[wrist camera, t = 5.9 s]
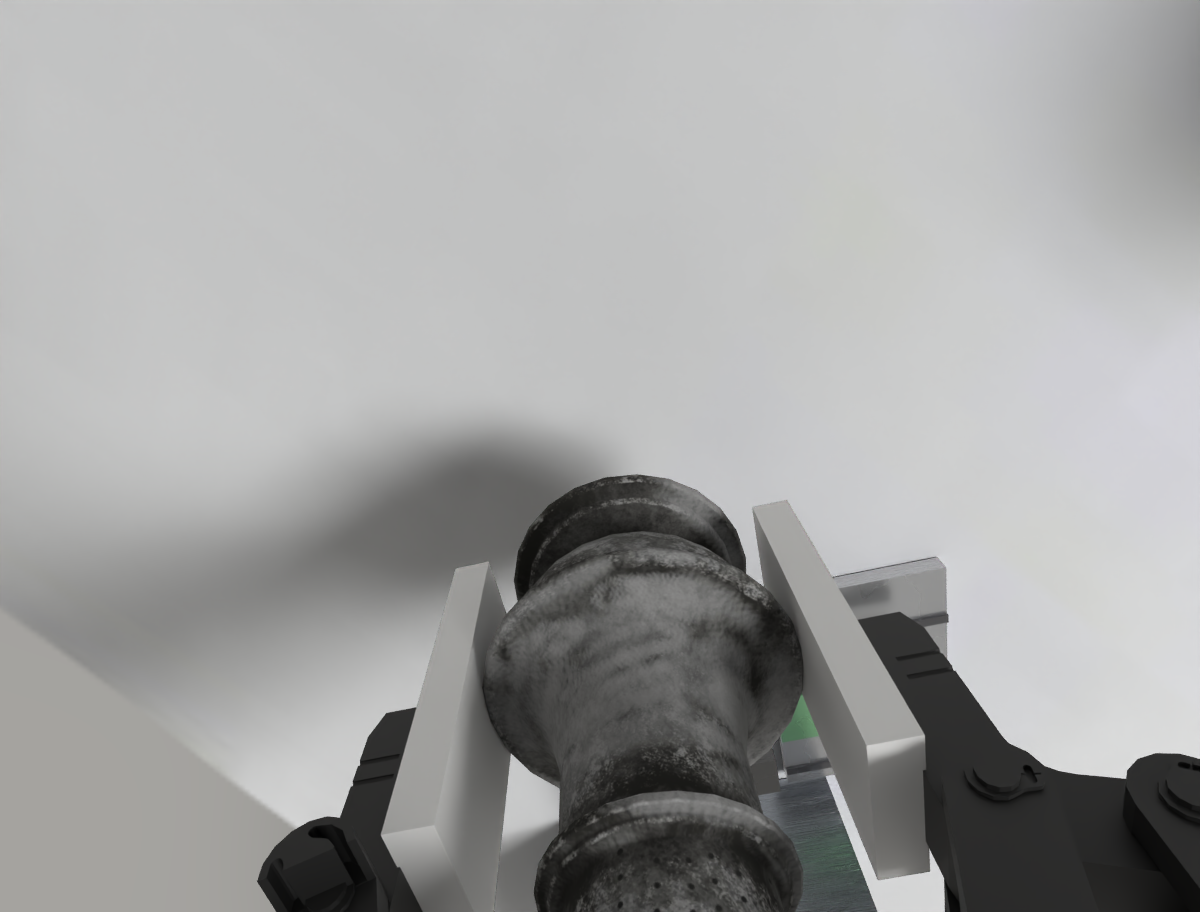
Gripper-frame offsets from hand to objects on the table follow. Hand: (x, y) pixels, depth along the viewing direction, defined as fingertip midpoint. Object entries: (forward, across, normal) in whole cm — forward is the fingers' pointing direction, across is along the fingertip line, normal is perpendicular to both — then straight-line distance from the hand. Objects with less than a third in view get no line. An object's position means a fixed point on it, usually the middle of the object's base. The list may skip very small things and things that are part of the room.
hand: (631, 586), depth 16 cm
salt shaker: (+1, 0, 0) cm, 1 cm away
